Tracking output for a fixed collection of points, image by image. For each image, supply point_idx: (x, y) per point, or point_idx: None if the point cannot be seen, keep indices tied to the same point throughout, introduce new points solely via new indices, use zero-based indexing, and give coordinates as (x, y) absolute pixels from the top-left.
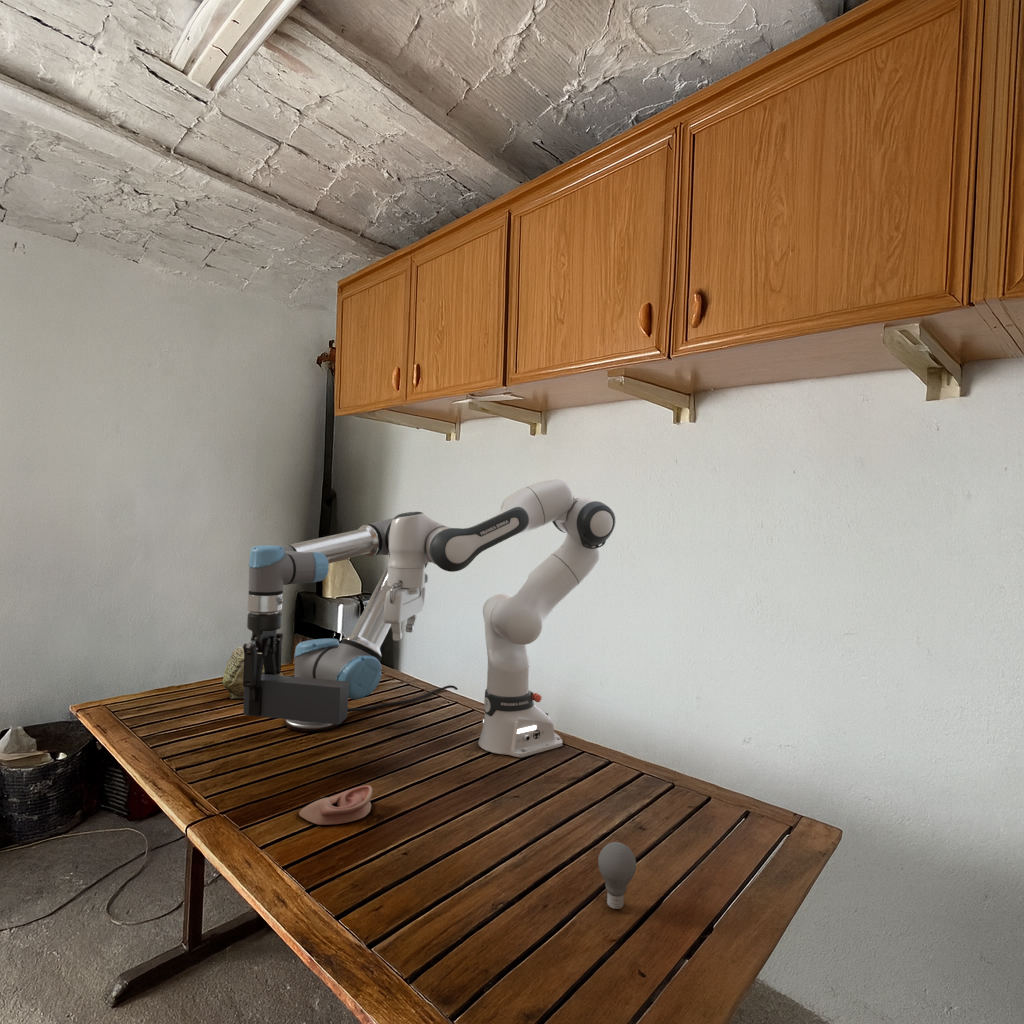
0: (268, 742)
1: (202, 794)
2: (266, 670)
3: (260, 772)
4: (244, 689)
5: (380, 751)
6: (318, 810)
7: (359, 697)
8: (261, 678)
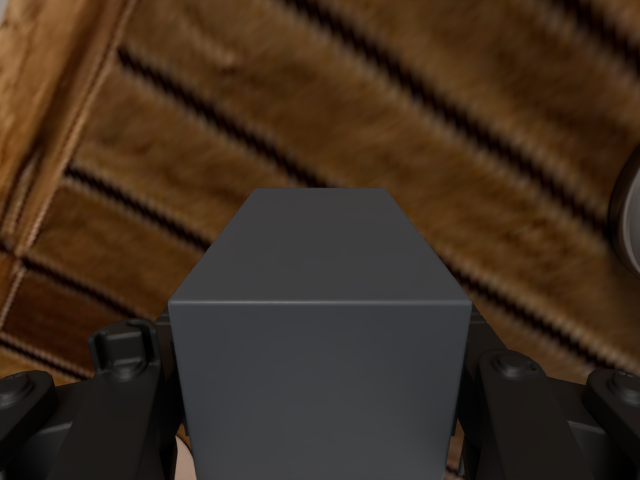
0: (504, 124)
1: (78, 149)
2: (490, 458)
3: None
4: (211, 248)
5: None
6: None
7: None
8: (260, 461)
